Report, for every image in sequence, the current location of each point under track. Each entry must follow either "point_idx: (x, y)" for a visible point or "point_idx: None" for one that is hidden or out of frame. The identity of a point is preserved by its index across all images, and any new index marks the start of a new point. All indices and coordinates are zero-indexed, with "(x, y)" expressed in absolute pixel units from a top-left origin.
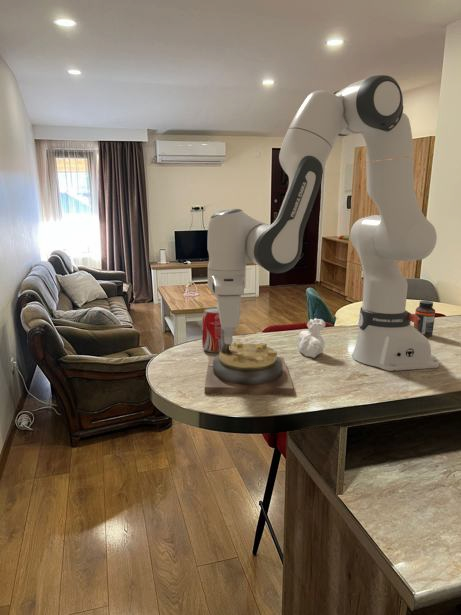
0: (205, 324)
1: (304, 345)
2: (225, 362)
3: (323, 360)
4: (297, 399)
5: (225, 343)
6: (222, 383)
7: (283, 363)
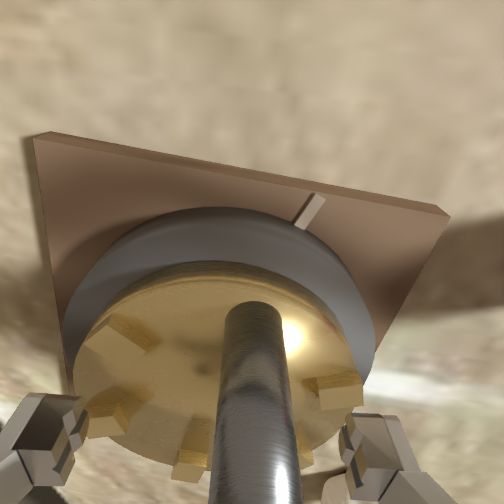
0: None
1: (371, 501)
2: (135, 292)
3: (311, 485)
4: (49, 392)
5: (31, 395)
6: (89, 226)
7: None
